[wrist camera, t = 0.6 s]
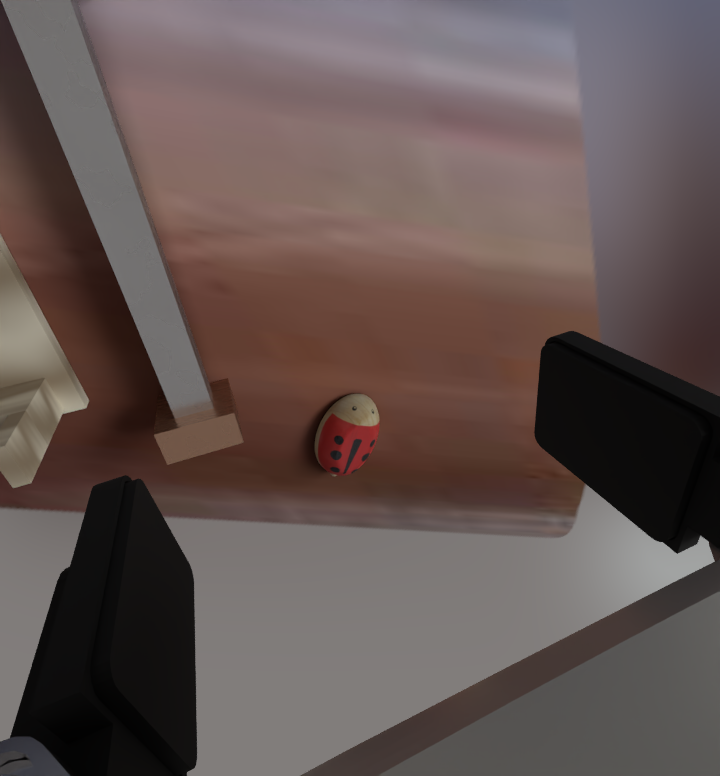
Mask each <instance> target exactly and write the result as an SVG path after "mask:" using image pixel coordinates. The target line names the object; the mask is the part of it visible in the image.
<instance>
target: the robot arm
mask: <svg viewBox="0 0 720 776" xmlns="http://www.w3.org/2000/svg"><path fill="white" fill-rule="evenodd" d="M535 438H536V441H537V443H538V444H539V445H540V446H541V447H542V448H543V449H544V450H545V451H546V452H548V453H549V454H550V455H551V456H553V457H554V458H555V459H556V460H557V461H559V462H560V463H561V464H562V465H564V466H565V467H566V468H567V469H568V470H570V471H571V472H572V473H573V474H574V475H576V476H577V477H578V478H579V479H581V480H582V481H583V482H584V483H585V484H587V485H588V486H589V487H590V488H592V489H593V490H594V491H595V492H596V493H598V494H599V495H600V496H601V497H602V498H604V499H605V500H606V501H607V502H609V503H610V504H611V505H612V506H613V507H615V508H616V509H617V510H618V511H620V512H621V513H622V514H623V515H625V516H626V517H627V518H628V519H629V520H630V521H632V522H633V523H634V524H635V525H637V526H638V527H639V528H640V529H642V530H643V531H644V532H645V533H646V534H648V535H649V536H650V537H651V538H653V539H654V540H656V541H659V542H663V543H665V544H666V545H667V546H668V547H670V548H671V549H672V550H673V551H674V552H676V553H677V554H678V553H680V552H682V551H684V550H686V549H688V548H690V547H692V546H694V545H696V544H697V542H698V540H699V537H700V535H701V536H702V537H704V538H705V539H706V540H708V541H709V546H710V549H711V551H712V554H713V557H714V560H715V562H713V563H712V564H709V565H707V566H705V567H703V568H702V569H699V570H697V571H695V572H694V573H692V574H689V575H688V576H686V577H684V578H682V579H680V580H678V581H676V582H674V583H672V584H670V585H668V586H666V587H664V588H662V589H660V590H658V591H656V592H654V593H652V594H650V595H648V596H646V597H644V598H642V599H640V600H638V601H636V602H634V603H632V604H630V605H629V606H627V607H624V608H622V609H620V610H619V611H617V612H615V613H613V614H611V615H609V616H607V617H605V618H603V619H601V620H599V621H597V622H595V623H593V624H591V625H589V626H587V627H585V628H583V629H581V630H579V631H578V632H575V633H574V634H572V635H570V636H568V637H566V638H564V639H562V640H560V641H558V642H556V643H554V644H552V645H550V646H548V647H546V648H544V649H542V650H540V651H539V652H536V653H534V654H533V655H531V656H529V657H527V658H525V659H523V660H521V661H519V662H517V663H515V664H513V665H511V666H509V667H507V668H505V669H503V670H502V671H500V672H497V673H496V674H494V675H492V676H490V677H488V678H486V679H484V680H482V681H480V682H478V683H476V684H475V685H472V686H470V687H469V688H467V689H465V690H463V691H461V692H459V693H457V694H455V695H453V696H451V697H449V698H447V699H445V700H443V701H442V702H440V703H438V704H436V705H434V706H432V707H430V708H428V709H426V710H424V711H422V712H420V713H419V714H416V715H415V716H413V717H411V718H409V719H407V720H405V721H403V722H401V723H399V724H397V725H395V726H394V727H391V728H389V729H387V730H386V731H384V732H382V733H380V734H378V735H376V736H374V737H372V738H370V739H368V740H366V741H364V742H363V743H360V744H359V745H357V746H355V747H353V748H351V749H349V750H347V751H345V752H343V753H342V754H339V755H338V756H336V757H334V758H332V759H330V760H328V761H327V762H325V763H323V764H321V765H319V766H317V767H315V768H314V769H312V770H310V771H308V772H306V773H305V774H303V775H301V776H720V397H719V396H717V395H715V394H713V393H710V392H708V391H706V390H704V389H701V388H699V387H697V386H695V385H693V384H690V383H688V382H686V381H684V380H681V379H679V378H677V377H675V376H673V375H670V374H668V373H666V372H664V371H662V370H659V369H657V368H655V367H653V366H650V365H648V364H646V363H644V362H641V361H640V360H637V359H635V358H633V357H630V356H628V355H626V354H624V353H622V352H619V351H617V350H615V349H613V348H611V347H608V346H606V345H604V344H602V343H600V342H597V341H595V340H593V339H591V338H589V337H586V336H584V335H582V334H580V333H578V332H574V331H569V332H566V333H563V334H559V335H556V336H553V337H550V338H549V339H548V340H547V341H546V343H545V346H544V347H543V348H542V350H541V358H540V370H539V383H538V395H537V408H536V420H535ZM194 619H195V617H194V579H193V574H192V569H191V567H190V564H189V562H188V561H187V559H186V557H185V555H184V554H183V552H182V550H181V548H180V546H179V545H178V543H177V541H176V539H175V537H174V536H173V534H172V533H171V530H170V529H169V527H168V525H167V523H166V521H165V520H164V518H163V516H162V514H161V512H160V511H159V509H158V507H157V505H156V504H155V502H154V500H153V498H152V496H151V495H150V493H149V491H148V489H147V488H146V486H145V484H144V482H143V481H142V480H141V479H136V480H133V481H132V480H131V478H130V477H128V476H126V475H125V476H122V477H119V478H116V479H112V480H109V481H106V482H103V483H100V484H97V485H95V486H93V488H92V491H91V494H90V498H89V501H88V505H87V508H86V512H85V515H84V519H83V522H82V526H81V530H80V533H79V537H78V540H77V544H76V547H75V551H74V555H73V558H72V561H71V565H70V567H68V568H66V569H65V570H64V571H63V572H62V573H61V574H60V577H59V579H58V581H57V584H56V587H55V591H54V594H53V597H52V601H51V604H50V608H49V611H48V614H47V617H46V620H45V624H44V627H43V630H42V634H41V637H40V640H39V644H38V647H37V650H36V653H35V657H34V660H33V663H32V667H31V670H30V674H29V677H28V680H27V683H26V687H25V690H24V693H23V697H22V700H21V703H20V706H19V710H18V713H17V716H16V720H15V723H14V726H13V730H12V733H11V736H10V738H9V739H7V740H3V741H1V742H0V776H187V772H188V771H190V770H192V769H194V768H195V765H196V760H197V729H196V728H197V726H196V671H195V620H194Z"/></svg>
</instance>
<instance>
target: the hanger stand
mask: <svg viewBox="0 0 720 776" xmlns="http://www.w3.org/2000/svg"><path fill="white" fill-rule="evenodd" d="M88 402H89V399H88V397H87V396H86V394H85V392H84V390H83V388H82V386H81V384H80V382H79V381H78V379H77V377H76V375H75V373H74V371H73V369H72V367H71V366H70V364H69V362H68V360H67V358H66V356H65V354H64V352H63V350H62V349H61V347H60V345H59V343H58V341H57V339H56V337H55V335H54V334H53V332H52V330H51V328H50V326H49V324H48V322H47V320H46V319H45V317H44V315H43V313H42V311H41V309H40V307H39V305H38V304H37V302H36V300H35V298H34V296H33V294H32V292H31V290H30V289H29V287H28V285H27V283H26V281H25V279H24V277H23V275H22V274H21V272H20V270H19V268H18V266H17V264H16V262H15V260H14V259H13V257H12V255H11V253H10V251H9V249H8V247H7V245H6V244H5V242H4V240H3V238H2V236H1V234H0V471H1V472H2V474H3V475H4V476H5V478H6V479H7V480H8V482H9V483H10V484H11V486H12V487H13V488H15V487H19V486H22V485H26V484H30V483H32V480H33V478H34V476H35V474H36V472H37V469H38V467H39V465H40V463H41V460H42V458H43V456H44V454H45V452H46V449H47V447H48V445H49V443H50V440H51V438H52V436H53V434H54V431H55V429H56V427H57V425H58V423H59V420H60V418H61V416H62V414H65V413H69V412H73V411H77V410H80V409H84V408H87V405H88Z"/></svg>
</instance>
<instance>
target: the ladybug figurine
mask: <svg viewBox="0 0 720 776" xmlns="http://www.w3.org/2000/svg"><path fill="white" fill-rule="evenodd" d="M378 432H379V414H378V411H377V408H376V405H375V404H374V402H373V401H372V400H371V399H370V398H369V397H368V396H366V395H364V394H350V395H347V396H345V397H343V398H341V399H340V400H338V401H337V402H336V403H335V404H334V405H332V406H331V407H330V409H329V410H328V411H327V412H326V414H325V415H324V417H323V419H322V420H321V422H320V425H319V427H318V430H317V433H316V437H315V454H316V458H317V460H318V462H319V463H320V465H321V466H322V467H323V468H324V469H325V470H326V471H328V472H330V474H331V475H332V476H337V475H339V476H344V475H348V474H351V473H353V472H355V471H356V470H358V469H359V468H360V467H361V466H362V465H363V464H364V462H365V461H366V460H367V458H368V457H369V455H370V454H371V452H372V450H373V448H374V446H375V443H376V440H377V437H378Z"/></svg>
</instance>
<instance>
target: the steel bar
mask: <svg viewBox="0 0 720 776" xmlns="http://www.w3.org/2000/svg"><path fill="white" fill-rule="evenodd" d="M1 2H2V4H3V7H4V9H5V11H6V14H7V16H8V19H9V21H10V23H11V26H12V28H13V31H14V33H15V35H16V38H17V40H18V43H19V45H20V47H21V50H22V52H23V55H24V57H25V59H26V62H27V64H28V67H29V69H30V72H31V74H32V76H33V79H34V81H35V84H36V86H37V88H38V91H39V93H40V96H41V98H42V100H43V103H44V105H45V108H46V110H47V112H48V115H49V117H50V120H51V122H52V124H53V127H54V129H55V132H56V134H57V136H58V139H59V141H60V144H61V146H62V148H63V151H64V153H65V156H66V158H67V160H68V163H69V165H70V168H71V170H72V172H73V175H74V177H75V180H76V182H77V185H78V187H79V189H80V192H81V194H82V197H83V199H84V201H85V204H86V206H87V209H88V211H89V213H90V216H91V218H92V221H93V223H94V225H95V228H96V230H97V233H98V235H99V237H100V240H101V242H102V245H103V247H104V249H105V252H106V254H107V257H108V259H109V261H110V264H111V266H112V269H113V271H114V273H115V276H116V278H117V281H118V283H119V285H120V288H121V290H122V293H123V295H124V298H125V300H126V302H127V305H128V307H129V310H130V312H131V314H132V317H133V319H134V322H135V324H136V326H137V329H138V331H139V334H140V336H141V338H142V341H143V343H144V346H145V348H146V350H147V353H148V355H149V358H150V360H151V362H152V365H153V367H154V370H155V372H156V374H157V377H158V379H159V382H160V384H161V386H162V389H163V391H164V394H165V395H161V396H158V400H157V410H156V419H155V429H154V436H155V438H156V441H157V443H158V445H159V447H160V449H161V452H162V454H163V456H164V458H165V460H166V462H167V465H168V464H172V463H175V462H179V461H182V460H185V459H189V458H192V457H196V456H199V455H202V454H206V453H209V452H213V451H216V450H220V449H223V448H226V447H230V446H233V445H237V444H240V443H244V442H243V437H242V432H241V427H240V421H239V416H238V411H237V406H236V403H235V399H234V396H233V393H232V390H231V387H230V384H229V380H228V378H227V379H223V380H219V381H215V382H212V383H209V381H208V378H207V376H206V373H205V370H204V367H203V364H202V361H201V358H200V355H199V352H198V349H197V346H196V344H195V341H194V338H193V335H192V332H191V329H190V326H189V323H188V320H187V317H186V315H185V312H184V309H183V306H182V303H181V300H180V297H179V294H178V291H177V288H176V286H175V283H174V280H173V277H172V274H171V271H170V268H169V265H168V262H167V259H166V256H165V254H164V251H163V248H162V245H161V242H160V239H159V236H158V233H157V230H156V227H155V225H154V222H153V219H152V216H151V213H150V210H149V207H148V204H147V201H146V198H145V196H144V193H143V190H142V187H141V184H140V181H139V178H138V175H137V172H136V169H135V166H134V164H133V161H132V158H131V155H130V152H129V149H128V146H127V143H126V140H125V137H124V135H123V132H122V129H121V126H120V123H119V120H118V117H117V114H116V111H115V108H114V106H113V103H112V100H111V97H110V94H109V91H108V88H107V85H106V82H105V79H104V76H103V74H102V71H101V68H100V65H99V62H98V59H97V56H96V53H95V50H94V47H93V45H92V42H91V39H90V36H89V33H88V30H87V27H86V24H85V21H84V18H83V16H82V13H81V10H80V7H79V4H78V1H77V0H1Z"/></svg>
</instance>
